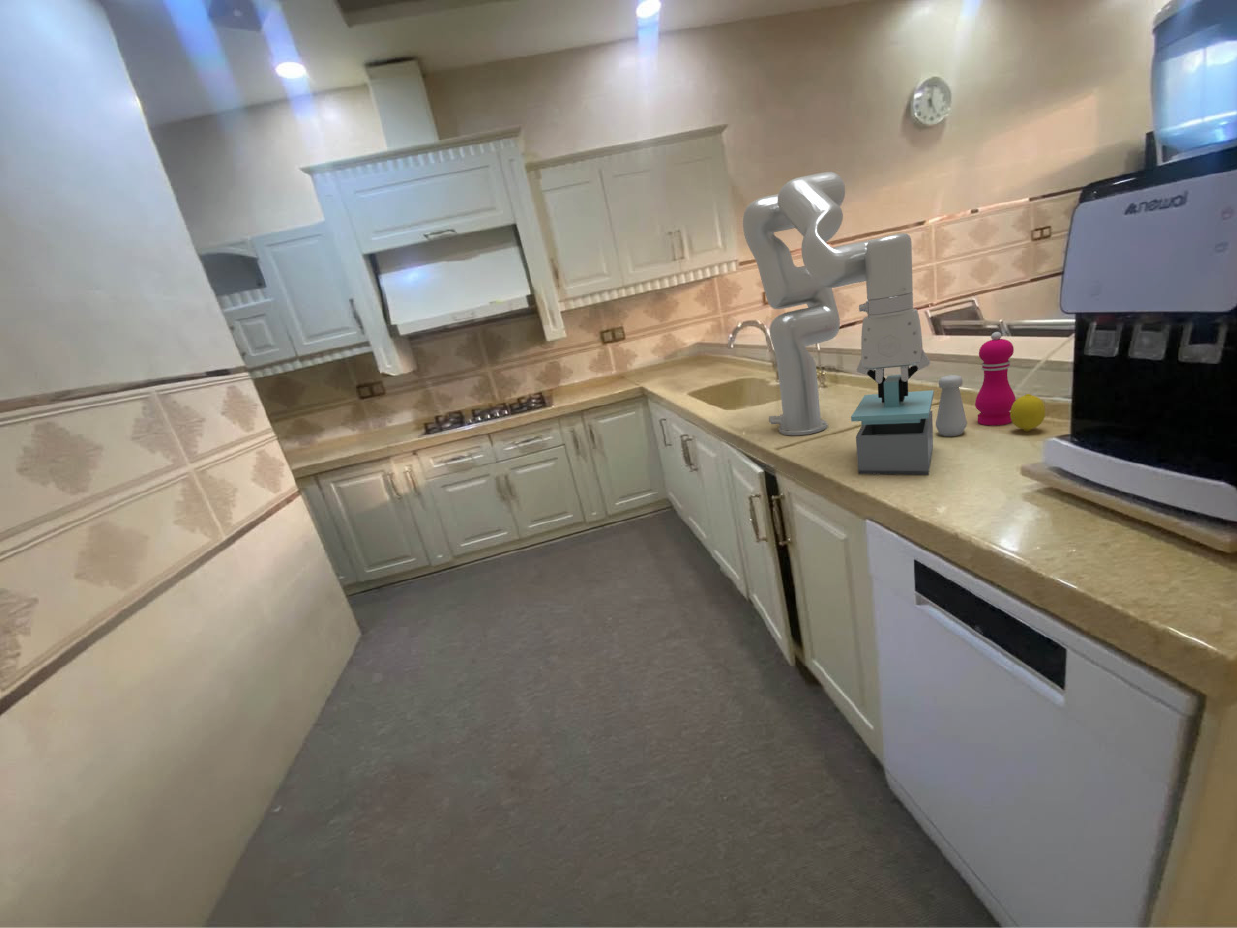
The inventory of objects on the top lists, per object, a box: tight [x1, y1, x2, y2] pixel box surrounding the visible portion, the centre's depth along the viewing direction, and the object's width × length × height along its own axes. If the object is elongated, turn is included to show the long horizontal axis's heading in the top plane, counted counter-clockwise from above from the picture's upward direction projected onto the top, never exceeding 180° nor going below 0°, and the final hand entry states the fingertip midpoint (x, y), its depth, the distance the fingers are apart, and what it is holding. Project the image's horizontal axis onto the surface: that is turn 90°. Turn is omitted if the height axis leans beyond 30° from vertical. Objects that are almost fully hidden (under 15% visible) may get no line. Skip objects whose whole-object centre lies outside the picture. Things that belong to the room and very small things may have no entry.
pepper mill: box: [974, 331, 1017, 426], centre depth 108 cm, size 7×7×20 cm
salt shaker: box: [935, 374, 968, 437], centre depth 107 cm, size 6×6×13 cm
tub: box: [855, 410, 934, 476], centre depth 100 cm, size 12×16×8 cm
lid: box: [850, 374, 935, 426], centre depth 98 cm, size 13×17×7 cm
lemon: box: [1009, 393, 1046, 432], centre depth 100 cm, size 6×6×8 cm
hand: (893, 399), depth 98 cm, fingers closed on lid
